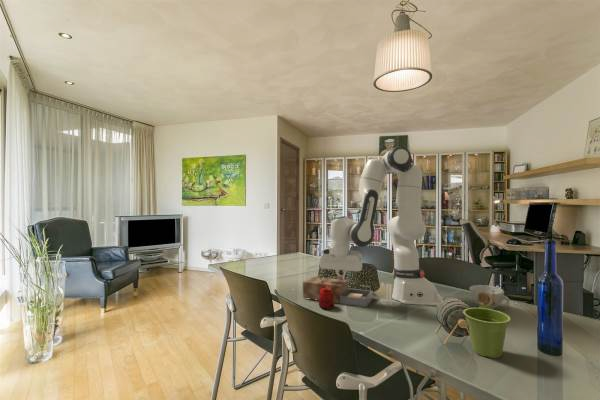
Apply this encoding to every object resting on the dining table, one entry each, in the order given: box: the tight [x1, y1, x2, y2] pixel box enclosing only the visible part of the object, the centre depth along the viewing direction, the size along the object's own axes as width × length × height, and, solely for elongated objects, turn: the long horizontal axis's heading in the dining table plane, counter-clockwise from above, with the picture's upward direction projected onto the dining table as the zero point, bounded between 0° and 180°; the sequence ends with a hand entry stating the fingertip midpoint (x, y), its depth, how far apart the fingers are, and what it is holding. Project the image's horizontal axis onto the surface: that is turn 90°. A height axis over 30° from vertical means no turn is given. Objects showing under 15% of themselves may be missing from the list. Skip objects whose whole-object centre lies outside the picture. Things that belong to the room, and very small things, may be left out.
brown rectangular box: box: [302, 276, 349, 304], centre depth 145 cm, size 19×12×8 cm, turn 64°
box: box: [339, 288, 374, 308], centre depth 138 cm, size 12×14×4 cm
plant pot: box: [462, 307, 511, 359], centre depth 88 cm, size 12×12×11 cm
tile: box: [347, 293, 363, 298], centre depth 138 cm, size 6×6×2 cm
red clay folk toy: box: [318, 273, 335, 310], centre depth 131 cm, size 8×7×15 cm
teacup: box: [469, 284, 510, 310], centre depth 125 cm, size 15×12×8 cm
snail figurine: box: [477, 290, 495, 310], centre depth 112 cm, size 5×6×12 cm
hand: (341, 279), depth 142 cm, fingers closed
